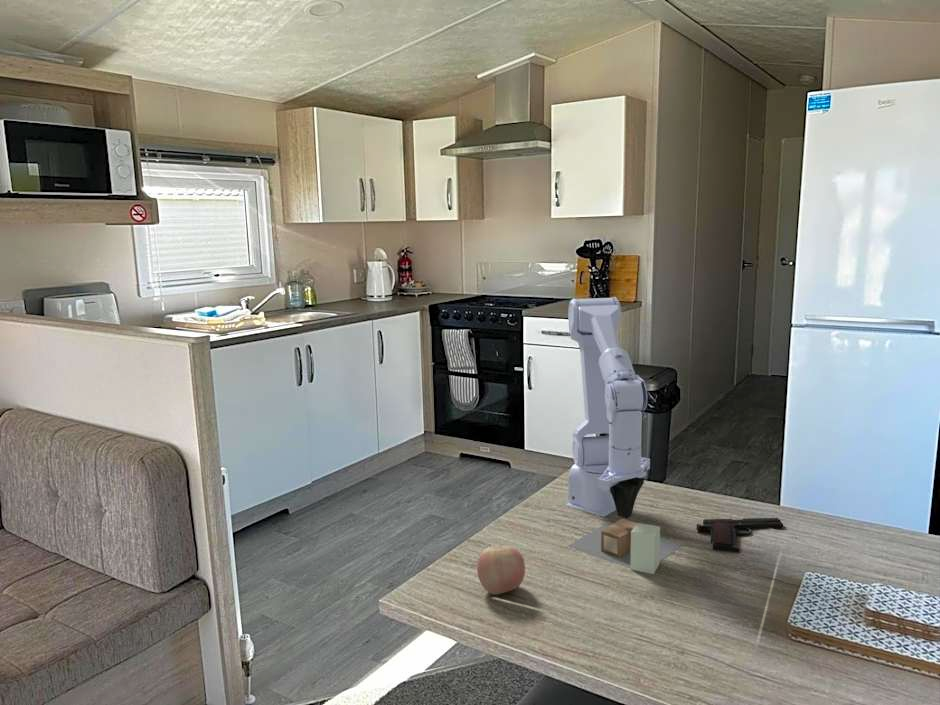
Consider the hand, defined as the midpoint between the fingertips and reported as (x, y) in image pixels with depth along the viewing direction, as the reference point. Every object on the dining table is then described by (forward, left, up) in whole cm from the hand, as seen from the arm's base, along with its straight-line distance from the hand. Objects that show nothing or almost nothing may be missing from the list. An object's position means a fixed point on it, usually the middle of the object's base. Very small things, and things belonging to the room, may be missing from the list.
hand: (624, 516), depth 132 cm
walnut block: (0, +3, -4) cm, 5 cm away
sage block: (+7, -4, -6) cm, 10 cm away
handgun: (+16, +18, -7) cm, 25 cm away
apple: (-7, -26, -6) cm, 28 cm away
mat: (0, +1, -6) cm, 6 cm away
